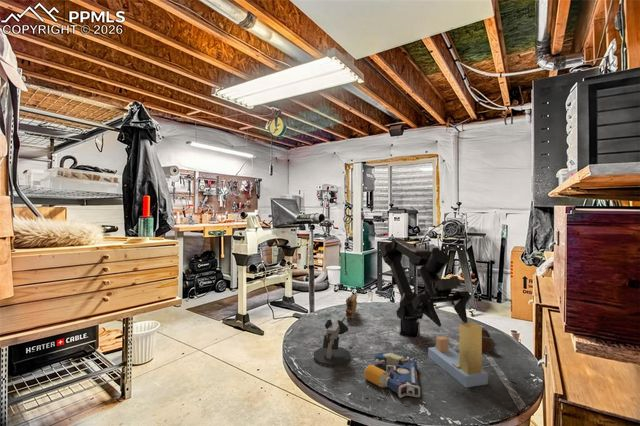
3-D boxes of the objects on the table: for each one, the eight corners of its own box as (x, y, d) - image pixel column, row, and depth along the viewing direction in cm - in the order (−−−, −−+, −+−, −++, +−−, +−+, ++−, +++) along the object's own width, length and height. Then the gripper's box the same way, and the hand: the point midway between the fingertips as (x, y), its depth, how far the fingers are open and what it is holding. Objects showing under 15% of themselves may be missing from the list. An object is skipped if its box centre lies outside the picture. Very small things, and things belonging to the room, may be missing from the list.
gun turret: (358, 343, 111) (358, 308, 111) (345, 371, 92) (345, 328, 92) (325, 339, 115) (325, 305, 115) (306, 364, 96) (306, 323, 96)
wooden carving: (347, 310, 148) (347, 290, 148) (357, 311, 147) (357, 290, 147) (344, 322, 132) (344, 299, 132) (354, 323, 131) (354, 300, 131)
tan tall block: (459, 368, 88) (459, 323, 88) (472, 366, 89) (472, 322, 89) (467, 374, 84) (467, 327, 84) (481, 372, 85) (481, 326, 85)
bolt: (484, 341, 117) (486, 356, 104) (471, 332, 119) (471, 346, 106) (493, 329, 116) (495, 343, 103) (480, 320, 118) (481, 333, 105)
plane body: (428, 356, 101) (428, 335, 101) (446, 354, 103) (446, 333, 102) (465, 387, 83) (465, 362, 83) (487, 384, 85) (487, 359, 85)
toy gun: (361, 394, 81) (420, 404, 77) (361, 378, 81) (420, 387, 77) (369, 359, 101) (416, 365, 97) (369, 346, 101) (416, 352, 97)
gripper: (416, 268, 97) (437, 315, 86) (467, 266, 101) (493, 309, 90) (404, 287, 104) (422, 332, 94) (451, 284, 109) (474, 326, 98)
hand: (453, 324), depth 94 cm, fingers open, 9 cm apart
